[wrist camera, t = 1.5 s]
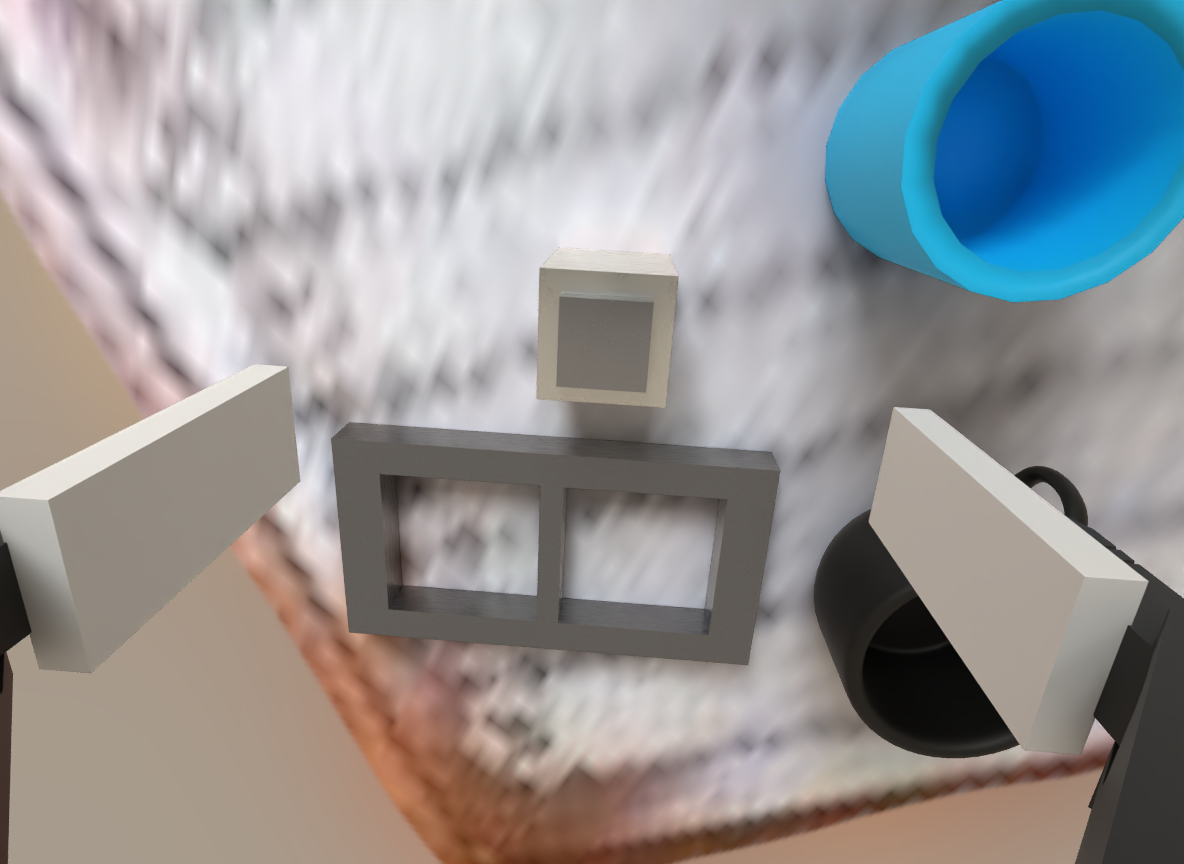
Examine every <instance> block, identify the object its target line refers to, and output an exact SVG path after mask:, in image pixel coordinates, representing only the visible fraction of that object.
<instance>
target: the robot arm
mask: <svg viewBox="0 0 1184 864" xmlns="http://www.w3.org/2000/svg"><path fill="white" fill-rule="evenodd" d="M299 482H300V474H299V465H298V455H297V446H296V436H295V427H294V417H293V408H292V398H291V389H290V379H289V370H288V367H284V366H269V365H252V366H250V367H248V368H246V369H244V370H242V371H240V372H238V373H236V374H234V375H232V376H230V377H228V378H226V379H224V380H222V381H220V382H218V383H216V384H214V385H212V386H210V387H208V388H206V389H204V390H202V391H200V392H198V393H196V394H194V395H192V396H190V397H188V398H186V399H184V400H182V401H180V402H178V403H176V404H174V405H172V406H170V407H168V408H166V409H164V410H162V411H160V412H158V413H156V414H154V415H152V416H150V417H148V418H146V419H144V420H142V421H140V422H138V423H136V424H134V425H132V426H130V427H128V428H126V429H124V430H122V431H120V432H118V433H116V434H114V435H112V436H110V437H108V438H106V439H104V440H102V441H100V442H98V443H96V444H94V445H92V446H90V447H88V448H86V449H84V450H82V451H80V452H78V453H76V454H74V455H72V456H70V457H68V458H66V459H64V460H62V461H60V462H58V463H56V464H54V465H52V466H50V467H48V468H46V469H44V470H42V471H40V472H38V473H36V474H34V475H32V476H30V477H28V478H26V479H24V480H22V481H20V482H18V483H16V484H14V485H12V486H10V487H8V488H6V489H4V490H2V491H0V864H8V837H9V799H10V796H9V795H10V763H11V725H12V689H13V673H12V669H11V666H10V663H9V659H8V656H7V653H6V651H7V650H9V649H10V648H12V647H13V646H14V645H16V644H17V643H18V642H19V641H21V640H22V639H23V638H25V637H26V636H27V635H29V634H30V637H31V641H32V645H33V648H34V652H35V655H36V659H37V662H38V666H39V669H44V670H56V671H69V672H80V673H92V672H93V671H94V670H95V669H96V668H98V667H99V666H100V665H101V664H102V663H103V662H104V661H105V660H106V659H107V658H109V657H110V655H112V654H113V653H114V652H115V651H116V650H117V649H118V648H119V647H120V646H122V645H123V644H124V643H125V642H126V641H127V640H128V639H129V638H130V637H131V636H132V635H133V634H135V633H136V632H137V631H138V630H139V629H140V628H141V627H142V626H143V625H144V624H145V623H147V622H148V621H149V620H150V619H151V618H152V617H153V616H154V615H155V614H156V613H157V612H158V611H160V610H161V609H162V608H163V607H164V606H165V605H166V604H167V603H168V602H169V601H170V600H172V599H173V598H174V597H175V596H176V595H177V594H178V593H179V592H180V591H181V590H182V589H183V588H185V587H186V586H187V585H188V584H189V583H190V582H191V581H192V580H193V579H194V578H195V577H196V576H197V575H199V574H200V573H201V572H202V571H203V570H204V569H205V568H206V567H207V566H209V564H211V563H212V562H213V561H214V560H215V559H216V558H217V557H218V556H219V555H220V554H222V553H223V552H224V551H225V550H226V549H227V548H228V547H229V546H230V545H231V544H232V543H234V542H235V541H236V540H237V539H238V538H239V537H240V536H241V535H242V534H243V533H244V532H246V531H247V530H248V529H249V528H250V527H251V526H252V525H253V524H254V523H255V522H256V521H257V520H259V519H260V518H261V517H262V516H263V515H264V514H265V513H266V512H267V511H268V510H269V509H271V508H272V507H273V506H274V505H275V504H276V503H277V502H278V501H279V500H280V499H281V498H282V497H284V496H285V495H286V494H287V493H288V492H289V491H290V490H291V489H292V488H293V487H294V486H296V485H297V484H298V483H299ZM869 524H870V525H871V526H872V528H873V529H874V531H875V532H876V534H877V535H878V537H879V538H880V540H881V541H882V543H883V544H884V546H885V547H886V548H887V550H888V551H889V553H890V554H891V556H892V557H893V559H894V560H895V562H896V563H897V565H898V566H899V568H900V569H901V571H902V572H903V573H904V575H905V576H906V578H907V579H908V581H909V582H910V584H911V585H912V587H913V588H914V590H915V591H916V593H917V594H918V596H919V597H920V598H921V600H922V601H923V603H924V604H925V606H926V607H927V609H928V610H929V612H930V613H931V615H932V616H933V618H934V619H935V620H936V622H937V623H938V625H939V626H940V628H941V629H942V631H943V632H944V634H945V635H946V637H947V638H948V640H949V641H950V643H951V644H952V645H953V647H954V648H955V650H956V651H957V653H958V654H959V656H960V657H961V659H962V660H963V662H964V663H965V665H966V666H967V668H968V669H969V670H970V672H971V673H972V675H973V676H974V678H975V679H976V681H977V682H978V684H979V685H980V687H981V688H982V690H983V691H984V692H985V694H986V695H987V697H988V698H989V700H990V701H991V703H992V704H993V706H994V707H995V709H996V710H997V712H998V713H999V715H1000V716H1001V717H1002V719H1003V720H1004V722H1005V723H1006V725H1007V726H1008V728H1009V729H1010V731H1011V732H1012V734H1013V735H1014V737H1015V738H1016V740H1017V741H1018V742H1019V744H1020V745H1021V747H1022V748H1023V750H1028V751H1040V752H1052V753H1064V754H1076V755H1081V753H1082V751H1083V748H1084V746H1085V743H1086V740H1087V738H1088V735H1089V733H1090V730H1091V728H1092V725H1093V722H1094V720H1095V718H1096V719H1097V720H1098V721H1099V723H1100V724H1101V725H1102V726H1103V727H1104V729H1105V730H1106V731H1107V732H1108V733H1109V734H1110V736H1111V737H1112V738H1113V739H1114V740H1115V742H1114V745H1113V747H1112V750H1111V752H1110V755H1109V757H1108V760H1107V762H1106V764H1105V767H1104V769H1103V772H1102V774H1101V777H1100V779H1099V782H1098V784H1097V787H1096V789H1095V791H1094V794H1093V796H1092V799H1091V801H1090V804H1089V806H1088V807H1089V808H1091V809H1092V810H1091V814H1090V817H1089V820H1088V823H1087V826H1086V830H1085V833H1084V837H1083V839H1082V843H1081V846H1080V849H1079V852H1078V856H1077V859H1076V862H1075V864H1184V599H1183V598H1182V597H1181V596H1180V595H1178V594H1177V593H1176V592H1174V591H1173V590H1172V589H1170V588H1169V587H1168V586H1166V585H1165V584H1164V583H1163V582H1161V581H1160V580H1159V579H1157V578H1156V577H1155V576H1153V575H1152V574H1151V573H1150V572H1148V571H1147V570H1146V569H1144V568H1143V567H1142V566H1140V565H1139V564H1134V560H1133V559H1131V558H1130V557H1129V556H1127V555H1126V554H1125V553H1124V552H1122V551H1121V550H1116V546H1114V545H1113V544H1112V543H1111V542H1109V541H1108V540H1107V539H1105V538H1104V537H1103V536H1101V535H1100V534H1099V533H1097V532H1096V531H1095V530H1093V529H1091V528H1089V527H1087V526H1085V525H1083V524H1081V523H1079V522H1077V521H1075V520H1073V519H1071V518H1069V517H1067V516H1065V515H1064V514H1062V513H1061V512H1060V511H1058V510H1057V509H1056V508H1055V507H1053V506H1052V505H1051V504H1050V503H1048V502H1047V501H1046V500H1044V499H1043V498H1042V497H1041V496H1039V495H1038V494H1037V493H1036V492H1034V491H1033V490H1032V489H1030V488H1029V487H1028V486H1027V485H1025V484H1024V483H1023V482H1022V481H1020V480H1019V479H1018V478H1016V477H1015V476H1014V475H1013V474H1011V473H1010V472H1009V471H1008V470H1006V469H1005V468H1004V467H1003V466H1001V465H1000V464H999V463H997V462H996V461H995V460H994V459H992V458H991V457H990V456H989V455H987V454H986V453H985V452H983V451H982V450H981V449H980V448H978V447H977V446H976V445H975V444H973V443H972V442H971V441H969V440H968V439H967V438H966V437H964V436H963V435H962V434H961V433H959V432H958V431H957V430H955V429H954V428H953V427H952V426H950V425H949V424H948V423H947V422H945V421H944V420H943V419H942V418H940V417H939V416H938V415H936V414H935V413H934V412H933V411H931V410H930V409H916V408H901V407H893V412H892V417H891V421H890V426H889V430H888V435H887V440H886V444H885V449H884V453H883V458H882V463H881V467H880V472H879V476H878V481H877V486H876V490H875V495H874V499H873V504H872V509H871V513H870V518H869Z"/></svg>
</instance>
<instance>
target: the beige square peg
mask: <svg viewBox="0 0 1184 864" xmlns="http://www.w3.org/2000/svg"><path fill="white" fill-rule="evenodd" d="M677 286H678V274H677V271H676V269H675V266H674V263H673V261H672V258H671V255H670V254H660V253H643V252H626V251H610V250H593V249H577V248H560V247H559V248H558V249H557V250H556V251H555V252H554V253H553V254H552V255H551V256H550V257H549V258H548V259H547V260H546V262H545V263H544V264H543V265H542V266H541V267H540V276H539V318H538V359H537V399H544V400H559V401H574V402H588V403H603V404H617V405H632V406H647V407H661V408H666V400H667V390H668V380H669V369H670V359H671V348H672V338H673V328H674V317H675V307H676V296H677Z"/></svg>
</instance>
